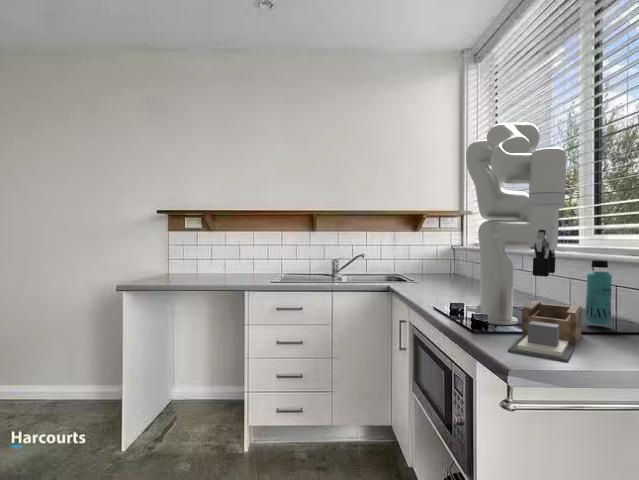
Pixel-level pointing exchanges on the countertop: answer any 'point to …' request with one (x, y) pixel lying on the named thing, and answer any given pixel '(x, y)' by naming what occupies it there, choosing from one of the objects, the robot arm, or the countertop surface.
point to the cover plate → (543, 348)
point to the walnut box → (555, 319)
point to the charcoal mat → (564, 357)
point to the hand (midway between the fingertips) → (544, 274)
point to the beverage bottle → (598, 294)
